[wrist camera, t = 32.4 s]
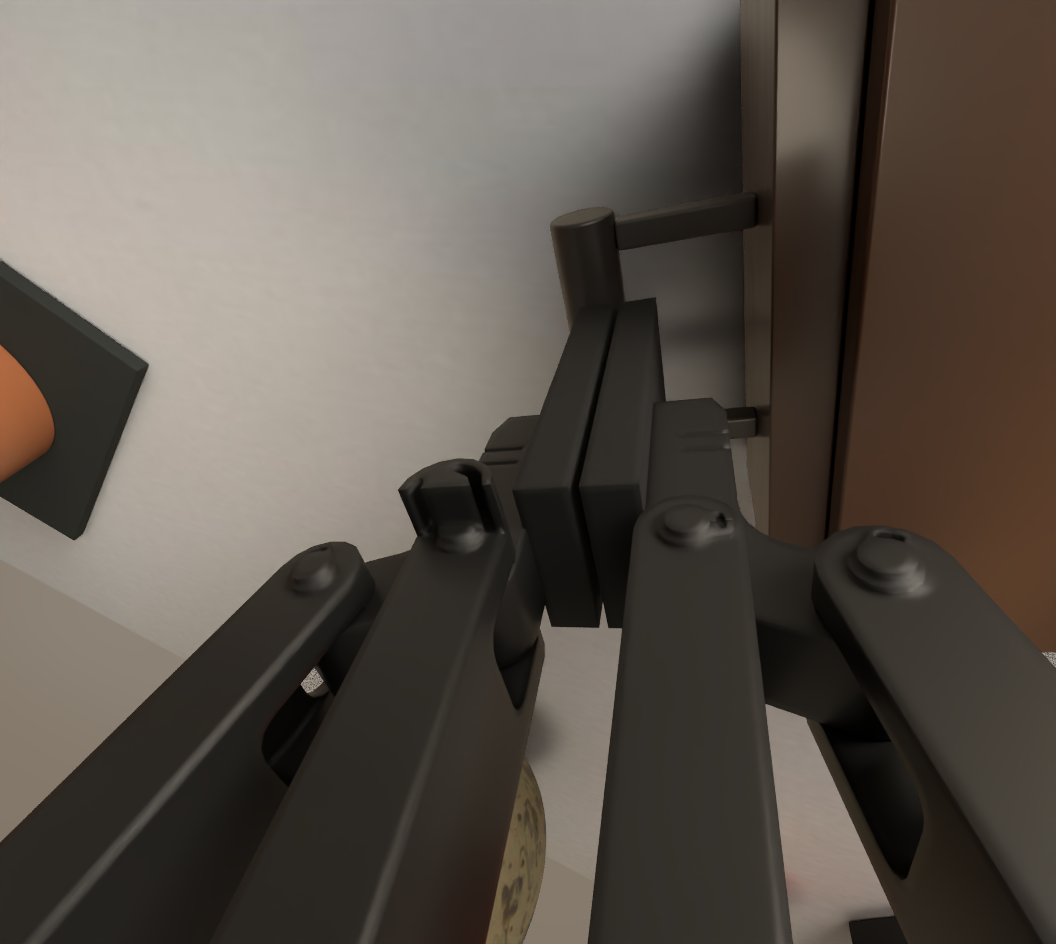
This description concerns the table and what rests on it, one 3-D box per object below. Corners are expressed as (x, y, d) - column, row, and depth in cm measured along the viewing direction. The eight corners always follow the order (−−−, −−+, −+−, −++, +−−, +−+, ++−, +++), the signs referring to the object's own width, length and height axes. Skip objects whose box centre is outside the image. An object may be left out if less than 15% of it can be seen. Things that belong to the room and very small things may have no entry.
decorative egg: (593, 771, 35) (549, 1147, 23) (446, 776, 39) (347, 1093, 28) (511, 660, 30) (402, 1069, 18) (354, 681, 34) (184, 1019, 23)
